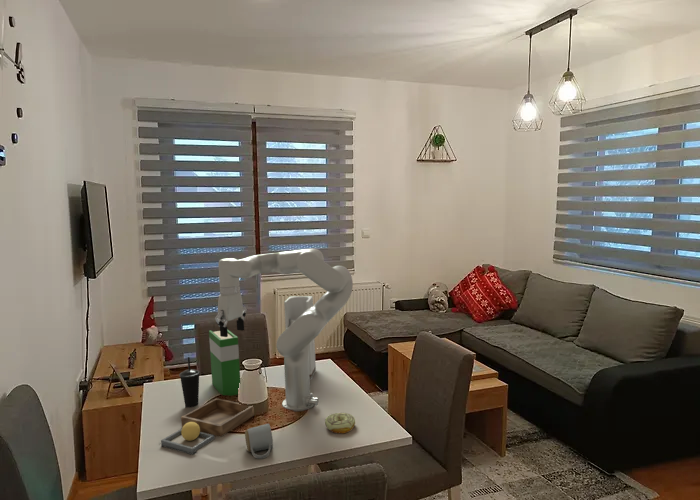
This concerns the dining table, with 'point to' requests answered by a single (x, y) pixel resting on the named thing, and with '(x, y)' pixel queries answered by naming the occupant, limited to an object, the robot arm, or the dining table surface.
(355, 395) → the dining table surface
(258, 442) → the ceramic mug
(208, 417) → the walnut box
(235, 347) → the hardback book
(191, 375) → the drinking cup
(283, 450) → the dining table surface
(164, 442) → the dish
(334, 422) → the decorated donut
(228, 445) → the dining table surface
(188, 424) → the ball
